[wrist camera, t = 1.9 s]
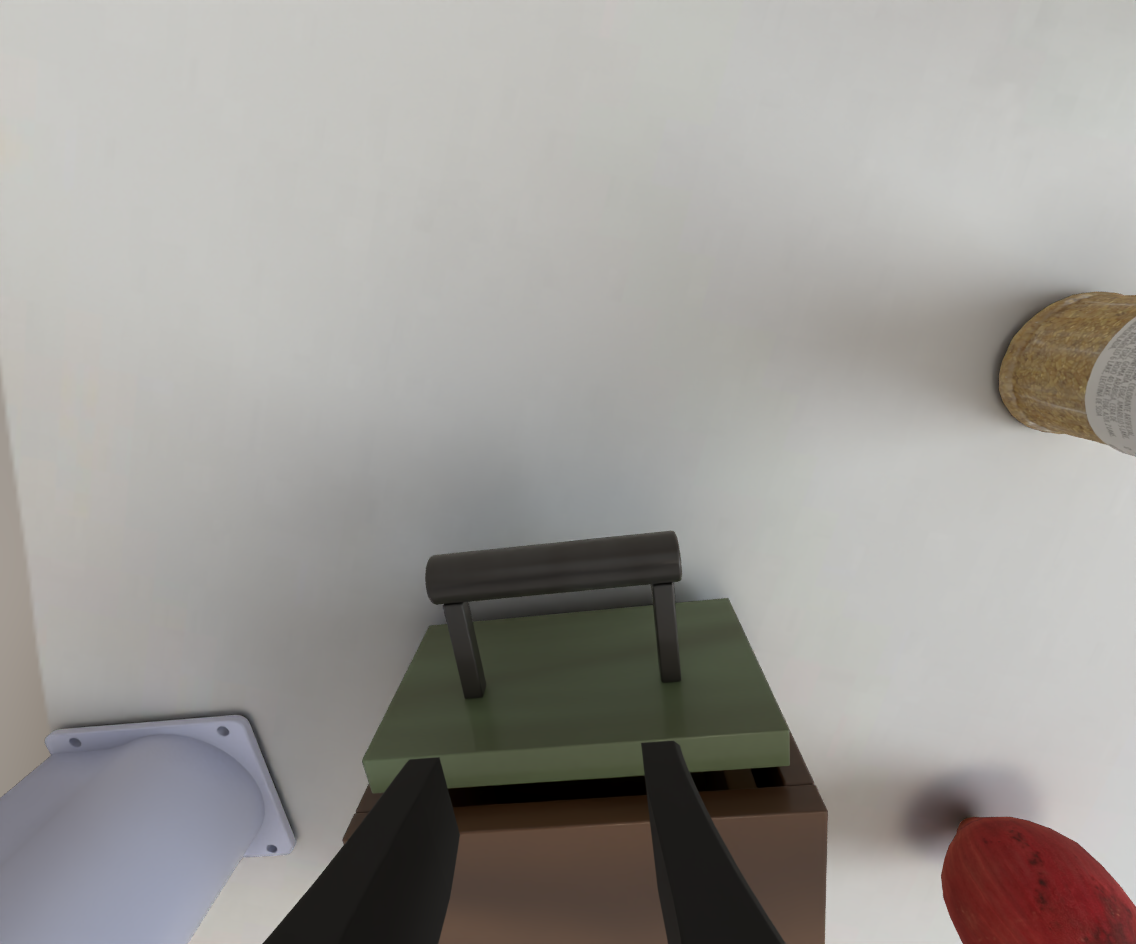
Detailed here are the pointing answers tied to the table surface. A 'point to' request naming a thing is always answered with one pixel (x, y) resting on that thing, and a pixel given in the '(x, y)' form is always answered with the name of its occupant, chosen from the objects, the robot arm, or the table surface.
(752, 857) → the cabinet
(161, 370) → the table surface
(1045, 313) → the sprinkles bottle
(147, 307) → the table surface
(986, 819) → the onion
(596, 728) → the drawer
